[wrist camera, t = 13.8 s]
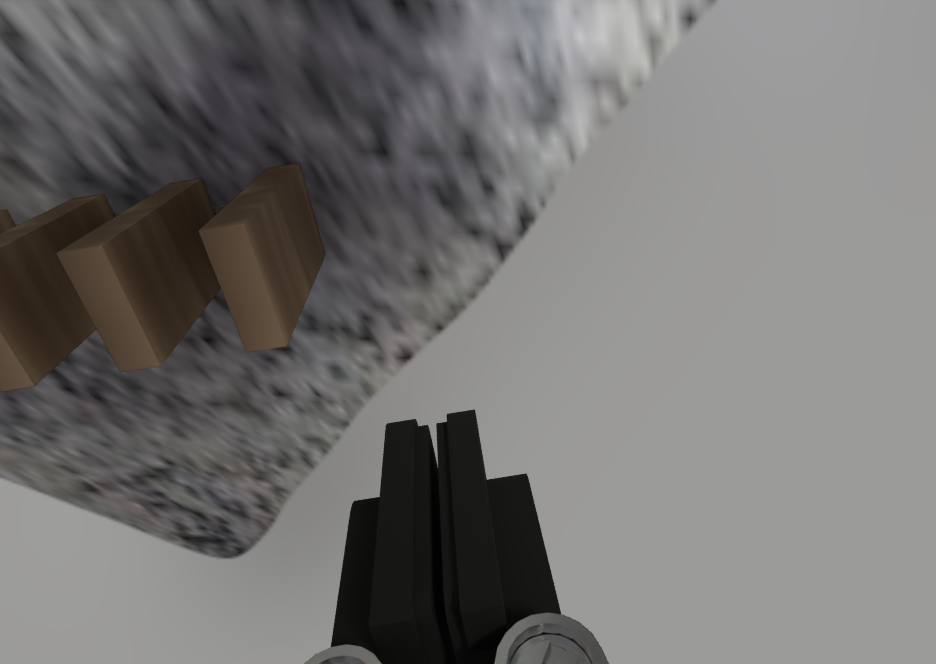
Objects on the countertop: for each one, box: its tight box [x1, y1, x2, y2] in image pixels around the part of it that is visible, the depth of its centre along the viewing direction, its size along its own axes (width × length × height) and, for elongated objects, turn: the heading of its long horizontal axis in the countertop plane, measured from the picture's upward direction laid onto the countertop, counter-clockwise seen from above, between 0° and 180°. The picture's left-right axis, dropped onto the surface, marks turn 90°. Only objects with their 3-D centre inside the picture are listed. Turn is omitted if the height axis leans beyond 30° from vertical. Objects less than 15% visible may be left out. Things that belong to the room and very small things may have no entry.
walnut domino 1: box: [0, 194, 115, 392], centre depth 25 cm, size 2×5×10 cm, turn 8°
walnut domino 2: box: [56, 178, 221, 372], centre depth 25 cm, size 2×5×10 cm, turn 8°
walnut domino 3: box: [199, 163, 325, 353], centre depth 25 cm, size 2×5×10 cm, turn 8°
